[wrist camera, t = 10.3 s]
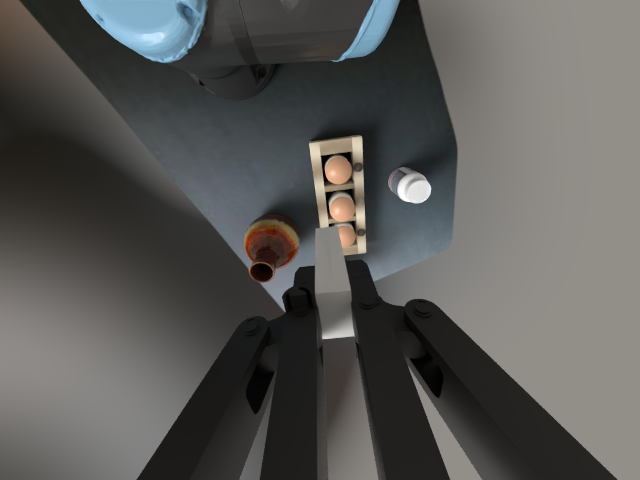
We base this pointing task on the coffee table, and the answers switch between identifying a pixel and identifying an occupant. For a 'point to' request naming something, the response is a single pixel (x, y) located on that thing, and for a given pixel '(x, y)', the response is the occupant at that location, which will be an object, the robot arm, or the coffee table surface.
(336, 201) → the button
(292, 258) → the vase
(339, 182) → the button
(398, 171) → the pill bottle
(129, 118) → the coffee table surface
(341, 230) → the button
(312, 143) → the wooden egg tray
